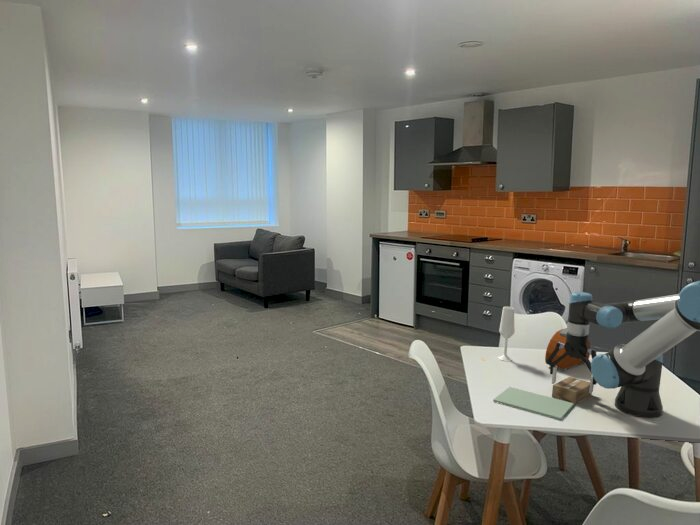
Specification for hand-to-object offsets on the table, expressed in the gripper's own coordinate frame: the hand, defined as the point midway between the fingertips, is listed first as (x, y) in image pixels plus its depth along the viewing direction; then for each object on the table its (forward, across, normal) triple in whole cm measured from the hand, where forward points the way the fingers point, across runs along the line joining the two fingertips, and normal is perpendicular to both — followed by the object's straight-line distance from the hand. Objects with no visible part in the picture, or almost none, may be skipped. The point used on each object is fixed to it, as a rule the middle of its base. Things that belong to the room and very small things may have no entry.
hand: (571, 387), depth 202 cm
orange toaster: (+4, +11, -36) cm, 38 cm away
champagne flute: (+4, +36, -25) cm, 44 cm away
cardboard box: (+4, 0, 0) cm, 4 cm away
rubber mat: (+3, +9, +17) cm, 20 cm away
